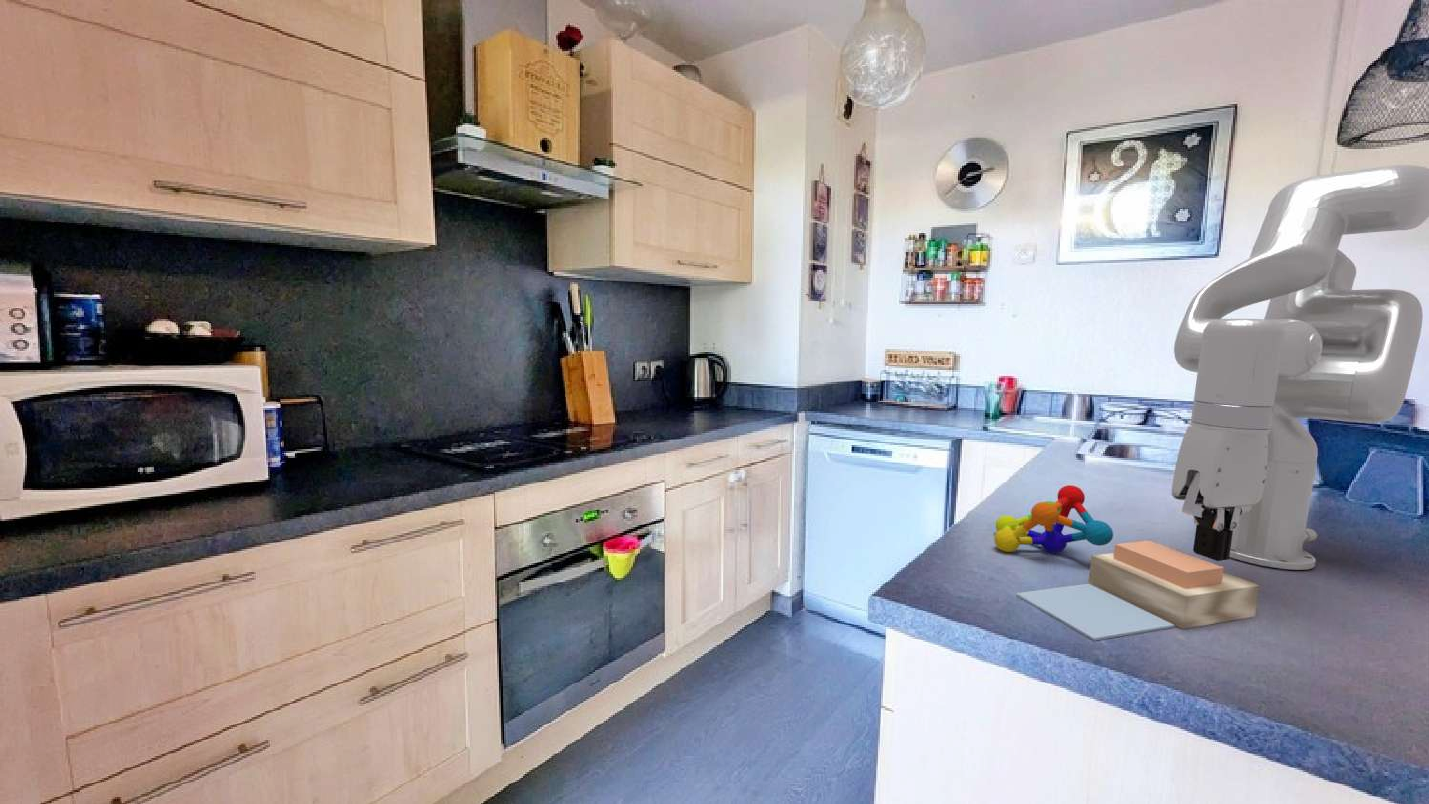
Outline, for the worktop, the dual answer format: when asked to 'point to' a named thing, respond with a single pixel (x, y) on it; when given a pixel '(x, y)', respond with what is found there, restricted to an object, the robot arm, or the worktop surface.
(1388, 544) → the worktop surface
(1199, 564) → the salmon pink brick
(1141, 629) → the mat
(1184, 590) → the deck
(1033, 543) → the molecular model
